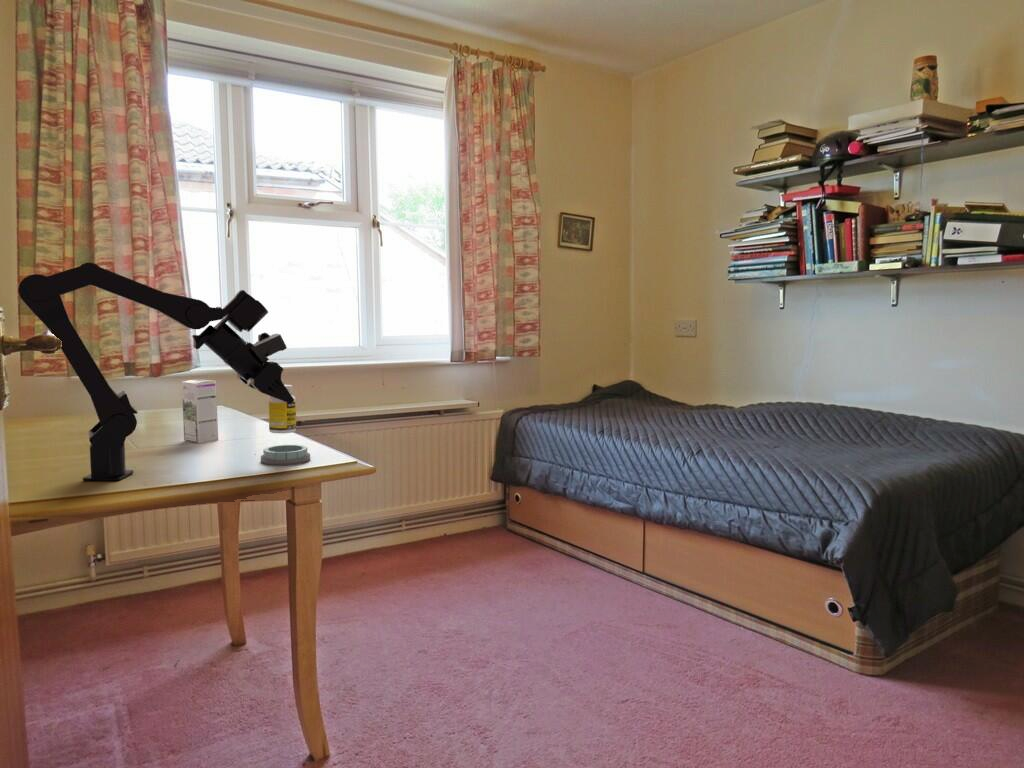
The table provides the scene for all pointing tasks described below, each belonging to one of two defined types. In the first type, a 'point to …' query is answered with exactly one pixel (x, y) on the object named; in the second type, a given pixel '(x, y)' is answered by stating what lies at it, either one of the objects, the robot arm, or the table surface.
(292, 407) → the supplement bottle
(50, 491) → the table surface
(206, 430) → the syrup box
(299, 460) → the socket plate
